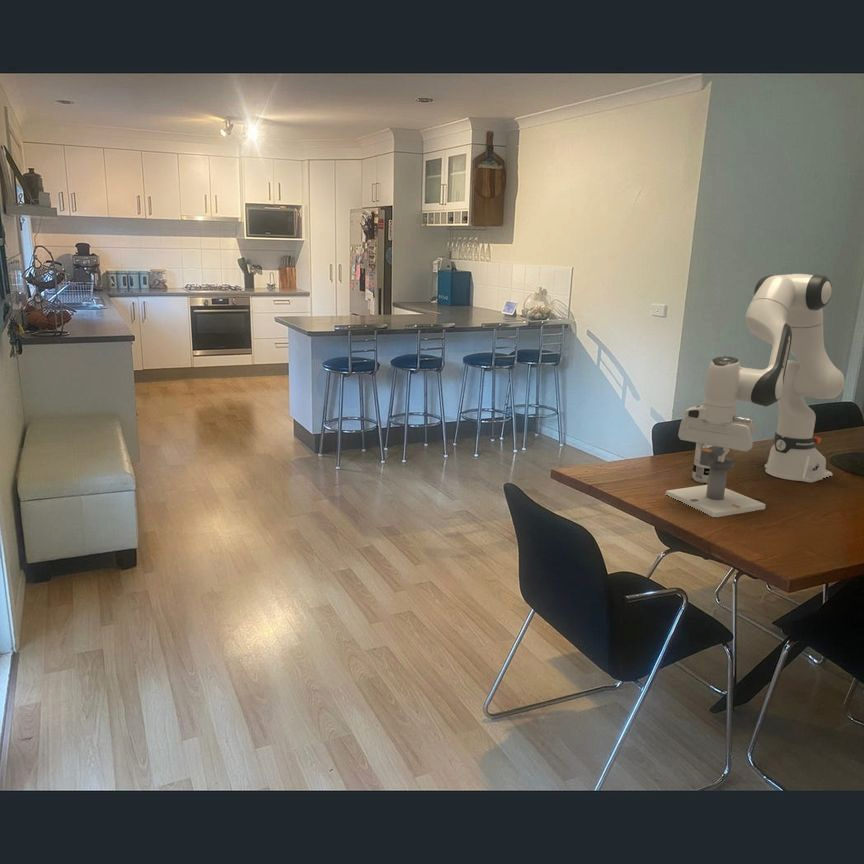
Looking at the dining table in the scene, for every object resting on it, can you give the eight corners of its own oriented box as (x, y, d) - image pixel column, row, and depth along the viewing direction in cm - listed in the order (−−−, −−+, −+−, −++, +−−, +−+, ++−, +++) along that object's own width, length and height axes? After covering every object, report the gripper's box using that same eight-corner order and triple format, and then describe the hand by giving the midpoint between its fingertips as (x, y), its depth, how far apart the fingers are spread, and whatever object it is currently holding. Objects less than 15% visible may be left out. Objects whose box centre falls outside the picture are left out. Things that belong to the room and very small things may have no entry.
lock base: (713, 488, 226) (718, 453, 223) (764, 509, 208) (770, 472, 206) (665, 495, 218) (669, 459, 215) (714, 517, 201) (719, 479, 198)
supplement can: (694, 475, 239) (699, 432, 235) (719, 479, 235) (725, 436, 231) (689, 481, 232) (694, 437, 228) (715, 486, 228) (721, 441, 224)
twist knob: (712, 459, 216) (715, 438, 214) (738, 465, 210) (741, 443, 208) (689, 468, 206) (692, 446, 204) (716, 475, 201) (719, 452, 199)
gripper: (759, 417, 198) (752, 464, 201) (686, 406, 209) (681, 450, 213) (753, 421, 193) (746, 469, 196) (679, 410, 205) (674, 455, 208)
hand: (711, 459), depth 205 cm, fingers open, 4 cm apart
